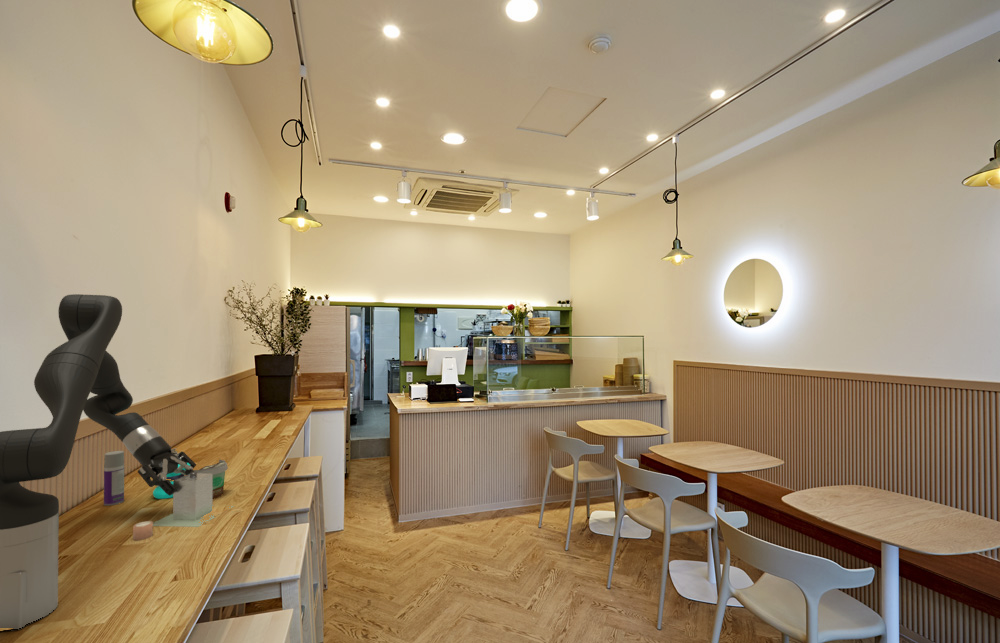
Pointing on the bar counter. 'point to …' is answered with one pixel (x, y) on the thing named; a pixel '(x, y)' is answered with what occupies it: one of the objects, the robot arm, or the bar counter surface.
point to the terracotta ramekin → (142, 530)
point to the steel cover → (192, 496)
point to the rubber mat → (180, 522)
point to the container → (113, 478)
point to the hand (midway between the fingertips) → (185, 487)
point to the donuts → (160, 493)
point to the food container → (216, 476)
